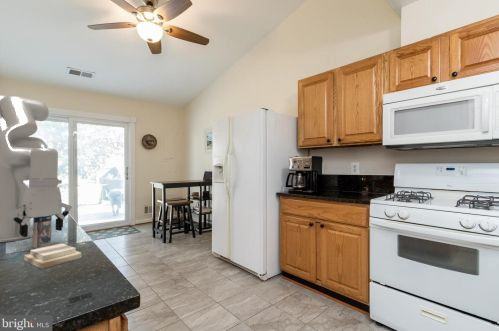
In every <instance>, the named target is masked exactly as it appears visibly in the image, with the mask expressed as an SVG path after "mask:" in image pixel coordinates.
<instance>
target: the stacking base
mask: <svg viewBox="0 0 499 331" xmlns="http://www.w3.org/2000/svg"><path fill="white" fill-rule="evenodd" d="M82 255H83V254H82V252H80V251H78V250H77V249H76V247H74V246H70V245H68V244H65V243H57V244H56V243H55V244H51V245H50V246H47V247H42V248H38V249H35V248H33V249H30V253H27V254H24V255H23V261H25V262H27V263H29V264H31V266H32V265H33V266H34V267H36V268H39V269H41V270H43V269H47V268H51V267H53V266H58V265H62V264H64V263H68V262H72V261H76V260H79V259H81V258H83V257H82Z"/></svg>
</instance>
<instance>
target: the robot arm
mask: <svg viewBox="0 0 499 331" xmlns="http://www.w3.org/2000/svg"><path fill="white" fill-rule="evenodd" d="M49 112H50V111H49V108H48V106H47V104H46V103H45V102H44V101H41V100H38V99H33V98H29V97H24V96H20V95H19V96H18V95H7V94H2V93H1V94H0V243H6V242H15V241H22V240H26V239H29V238H33V230H31V219H33V218H38V217H41V216H43V215H45V214H46V215H50V216H52V217H53V216H55V217H56V219H55V230H56V231H59V232H60V231H63V228H64V220H65V219H66V217H67V216H68V214H70V211H71V210H72V207H73V206H72V205H69V204H66V203H63V202H62V194H61V193H62V192H61V189H60V187H59V185H60V184H62V183H63V180H62V179H59V178H58V174H59V173H58V171H59V170H58V168H59V152H58V150H56V149H54V148H48V147H47V144H46V142H45V141H44V140H43V139H42V138H39V137H36V136H35V137H34V136H33V135H35V133H37V132H38V125H37V121H38V122H44V121H46V120H47V119H48V117H49ZM24 181H29V182H28V185H27V184H26V183H25V182H24ZM63 208H64V210H63V211H62V209H63Z"/></svg>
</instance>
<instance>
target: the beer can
mask: <svg viewBox="0 0 499 331" xmlns="http://www.w3.org/2000/svg"><path fill="white" fill-rule="evenodd" d="M52 217H53V216H50V215H46V214H45V215H43V216H41V217H38V218H32V219H33V224H32V226H33V227H32V231H33V237H32V248H33V249H38V248H42V247H47V246H51V245H52V220H53V219H52Z"/></svg>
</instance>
